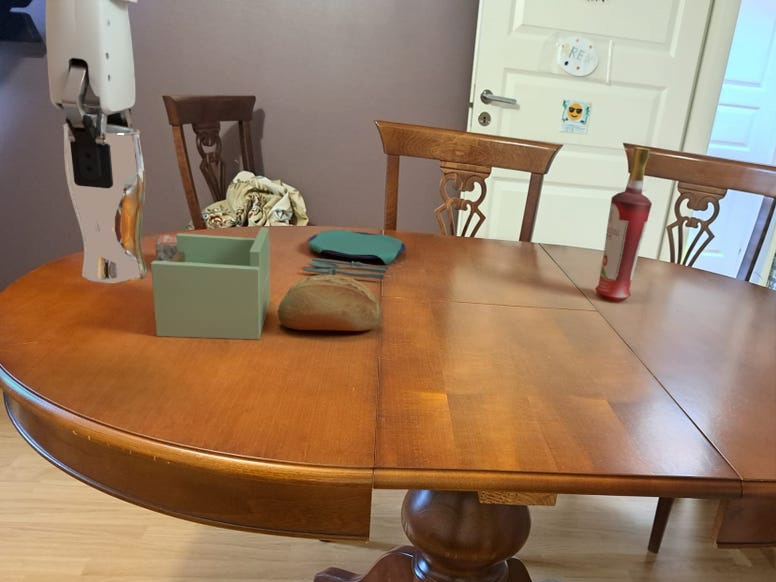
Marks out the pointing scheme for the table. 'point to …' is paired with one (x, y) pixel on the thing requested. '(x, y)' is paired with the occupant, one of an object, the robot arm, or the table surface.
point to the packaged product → (166, 248)
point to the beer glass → (112, 211)
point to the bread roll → (330, 305)
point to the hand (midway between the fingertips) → (106, 178)
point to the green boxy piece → (213, 287)
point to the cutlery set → (353, 251)
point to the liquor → (624, 233)
